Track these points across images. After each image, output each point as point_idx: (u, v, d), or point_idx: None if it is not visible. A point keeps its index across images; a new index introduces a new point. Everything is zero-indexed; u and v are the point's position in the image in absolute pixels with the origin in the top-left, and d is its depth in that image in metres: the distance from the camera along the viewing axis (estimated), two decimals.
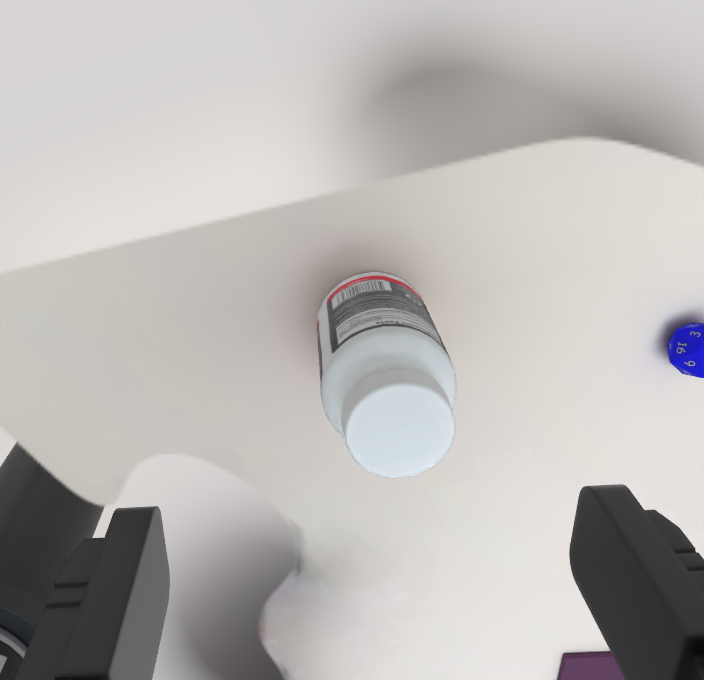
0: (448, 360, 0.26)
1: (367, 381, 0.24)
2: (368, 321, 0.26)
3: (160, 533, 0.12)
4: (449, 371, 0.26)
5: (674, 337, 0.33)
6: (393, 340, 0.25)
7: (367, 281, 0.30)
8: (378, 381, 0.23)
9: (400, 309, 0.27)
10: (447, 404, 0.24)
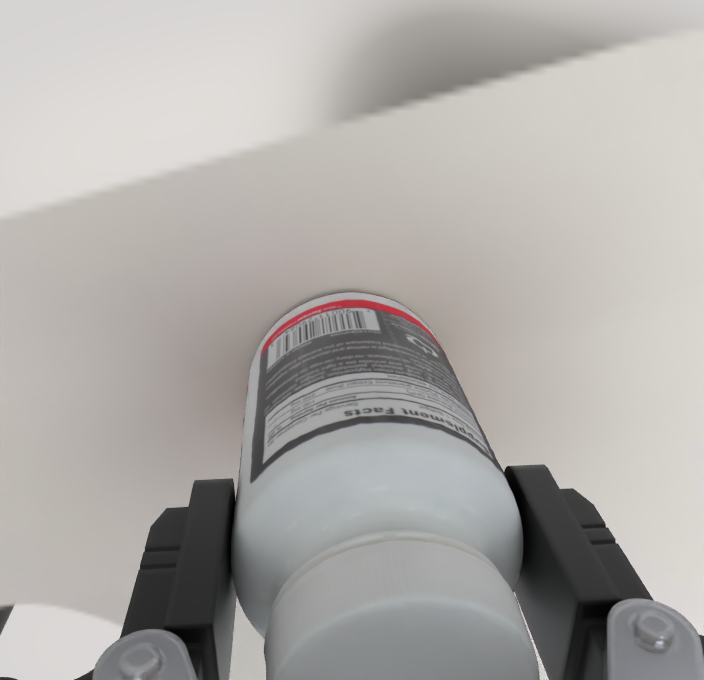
0: (507, 492, 0.12)
1: (321, 579, 0.10)
2: (328, 407, 0.12)
3: (234, 504, 0.13)
4: (510, 518, 0.12)
5: None
6: (384, 461, 0.11)
7: (333, 311, 0.16)
8: (346, 587, 0.09)
9: (397, 375, 0.13)
10: (522, 636, 0.09)
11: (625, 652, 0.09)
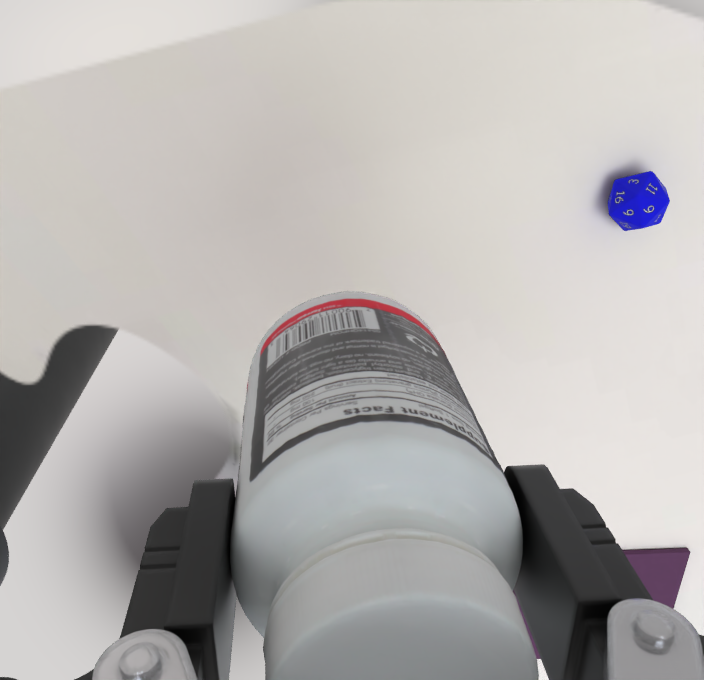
0: (506, 491, 0.12)
1: (320, 577, 0.10)
2: (328, 406, 0.12)
3: None
4: (510, 517, 0.12)
5: (613, 188, 0.32)
6: (383, 459, 0.11)
7: (332, 310, 0.16)
8: (346, 585, 0.09)
9: (396, 375, 0.13)
10: (520, 634, 0.09)
11: (625, 652, 0.09)
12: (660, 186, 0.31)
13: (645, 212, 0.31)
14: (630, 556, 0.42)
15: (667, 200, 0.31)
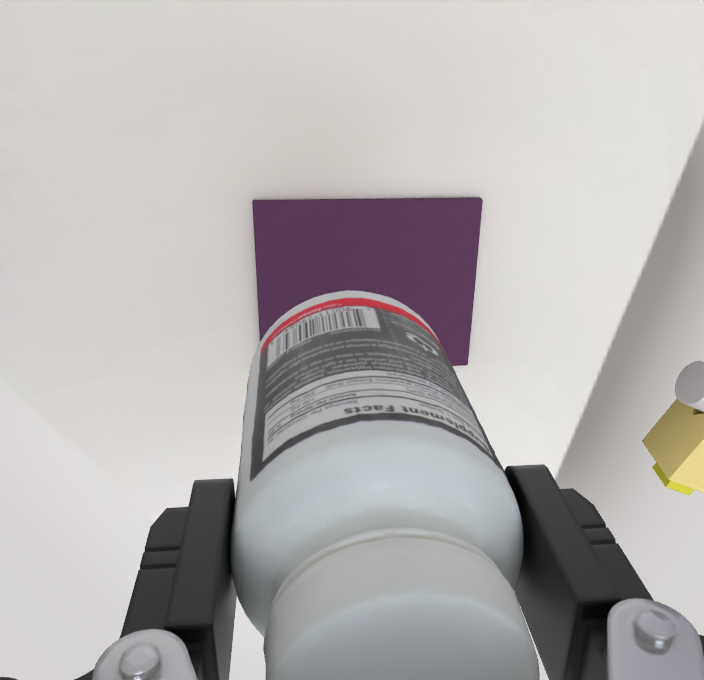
0: (507, 490, 0.12)
1: (320, 577, 0.10)
2: (328, 405, 0.12)
3: None
4: (511, 516, 0.12)
5: None
6: (384, 459, 0.11)
7: (333, 309, 0.16)
8: (346, 584, 0.09)
9: (397, 373, 0.13)
10: (522, 634, 0.09)
11: (625, 652, 0.09)
12: None
13: None
14: (402, 203, 0.32)
15: None
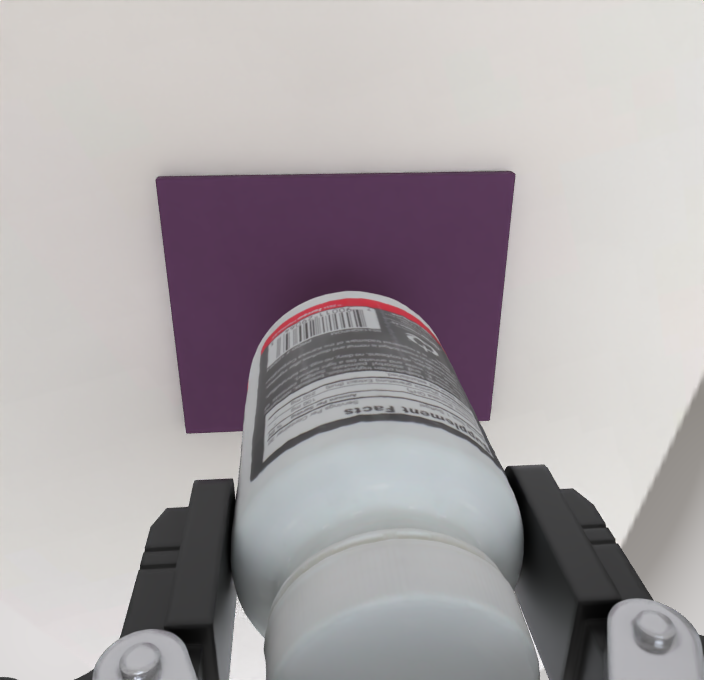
0: (507, 491, 0.12)
1: (321, 577, 0.10)
2: (328, 406, 0.12)
3: (234, 504, 0.13)
4: (511, 517, 0.11)
5: None
6: (384, 460, 0.11)
7: (333, 310, 0.16)
8: (346, 585, 0.09)
9: (397, 374, 0.13)
10: (522, 635, 0.09)
11: (625, 652, 0.09)
12: None
13: None
14: (390, 180, 0.21)
15: None
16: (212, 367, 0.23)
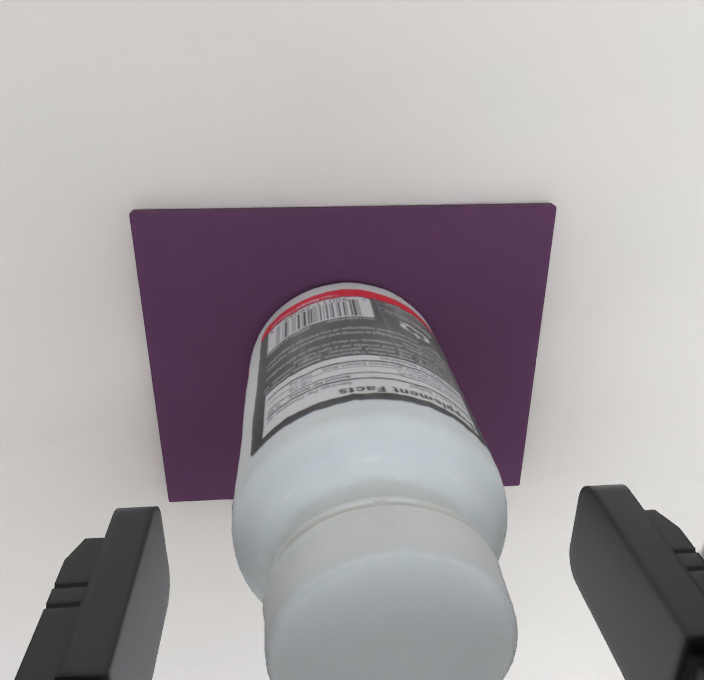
0: (491, 466, 0.12)
1: (316, 540, 0.10)
2: (324, 386, 0.13)
3: (160, 533, 0.12)
4: (494, 490, 0.12)
5: None
6: (375, 434, 0.12)
7: (330, 299, 0.17)
8: (339, 545, 0.10)
9: (389, 358, 0.14)
10: (500, 592, 0.10)
11: None
12: None
13: None
14: (409, 215, 0.17)
15: None
16: (198, 428, 0.20)
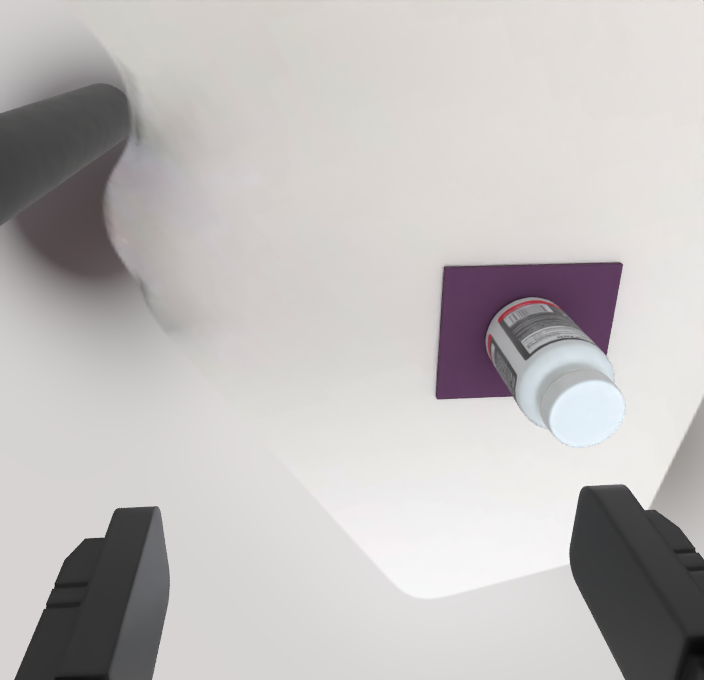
0: (610, 362, 0.36)
1: (564, 379, 0.34)
2: (549, 336, 0.36)
3: (160, 533, 0.12)
4: (612, 370, 0.36)
5: None
6: (575, 350, 0.35)
7: (530, 305, 0.40)
8: (573, 379, 0.33)
9: (568, 326, 0.37)
10: (621, 393, 0.34)
11: None
12: None
13: None
14: (560, 268, 0.41)
15: None
16: (456, 363, 0.43)
